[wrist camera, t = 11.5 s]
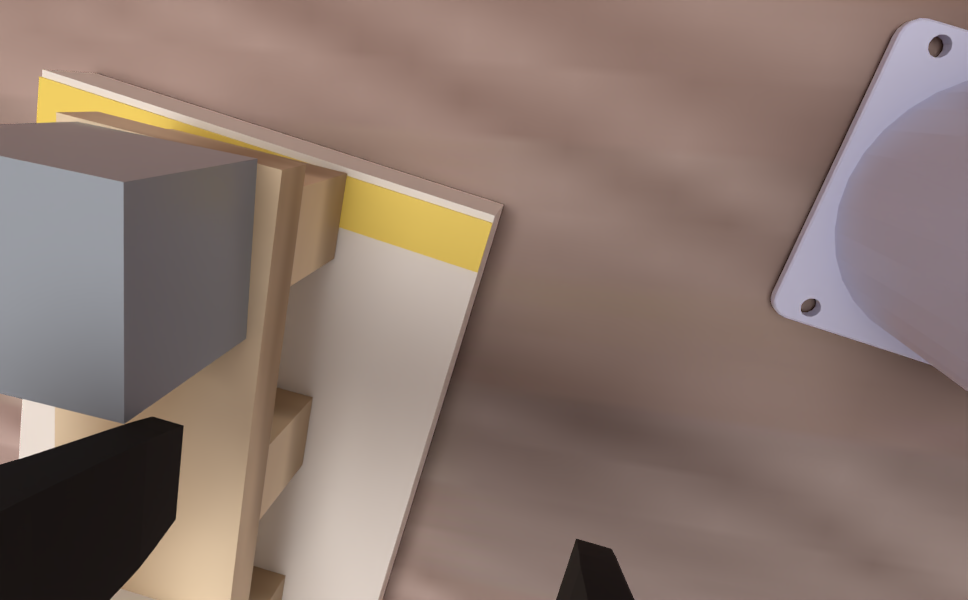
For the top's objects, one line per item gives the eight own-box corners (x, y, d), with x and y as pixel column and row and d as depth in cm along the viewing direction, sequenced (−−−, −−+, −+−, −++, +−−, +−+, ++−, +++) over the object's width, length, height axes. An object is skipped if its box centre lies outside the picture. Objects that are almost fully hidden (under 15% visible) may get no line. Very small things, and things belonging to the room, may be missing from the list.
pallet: (350, 154, 17) (282, 169, 13) (275, 640, 22) (212, 751, 18) (172, 110, 17) (55, 111, 13) (142, 599, 23) (53, 699, 19)
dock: (503, 204, 19) (494, 216, 17) (372, 634, 24) (352, 681, 22) (95, 73, 19) (39, 69, 17) (56, 519, 25) (10, 556, 23)
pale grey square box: (257, 158, 13) (123, 181, 9) (246, 338, 14) (124, 424, 10) (76, 121, 13) (-125, 129, 10) (81, 300, 15) (-95, 369, 11)
